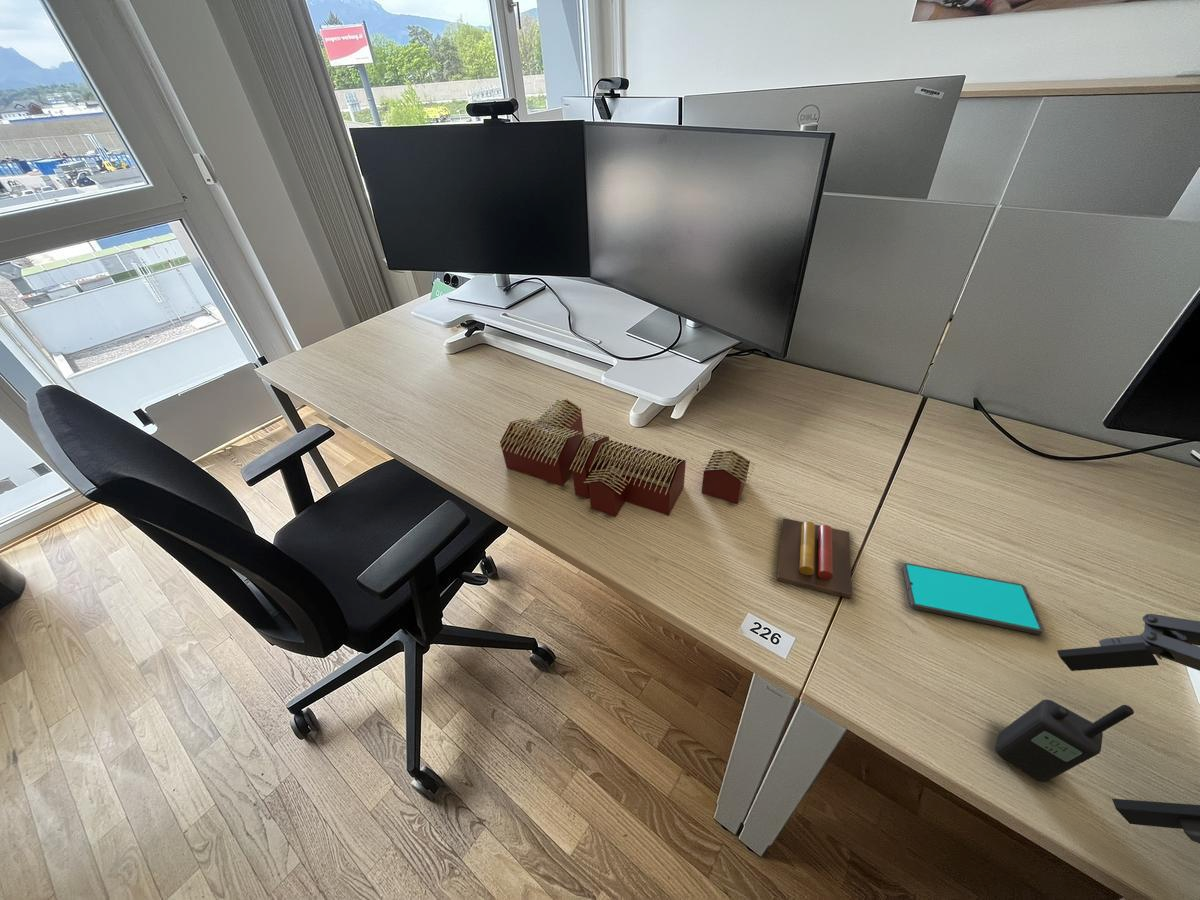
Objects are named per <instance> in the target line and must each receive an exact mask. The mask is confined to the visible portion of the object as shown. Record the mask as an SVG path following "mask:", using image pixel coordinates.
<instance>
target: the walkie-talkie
mask: <svg viewBox="0 0 1200 900" xmlns="http://www.w3.org/2000/svg"><path fill="white" fill-rule="evenodd" d="M1134 714H1135V711H1134V708H1133V707H1131V706H1130V705H1128V704H1122V705H1120V706H1118V707H1117V708H1115V709H1113V710H1112V711H1109V712H1108V713H1107V714H1104V715H1103V716H1102V717H1099V719H1097V720H1096V721H1093V722H1092V721H1090V720H1089V719H1087V718H1085V717H1083V716H1081V715H1079V714H1078V713H1076V712H1074V711H1072V710H1070V709H1069V708H1067V707H1065V706H1063V705H1061V704H1059V703H1058V702H1056V701H1054V700H1052V699H1047V698H1045V699H1042V700H1041V701H1039V702H1038V703H1037V704H1036V705H1034V706H1033V707H1031V708H1030V709H1029V710H1027V711H1026V712H1024V713H1023V714H1022V715H1021V716H1019V717H1018V718H1016V719H1015V720H1014V721H1013V722H1011V723H1010V724H1009V725H1007V726H1005V728H1003V729H1002V730H1000V732H998V737H997V741H996V744H995V751H996V753H997V754H998V755H999V756H1000V757H1001V758H1002V759H1004V760H1006V761H1007V762H1009V763H1011V764H1012V765H1013V766H1015V767H1016V768H1018V769H1020V770H1021V771H1023V772H1024V773H1026V774H1027V775H1029V776H1031V777H1033V778H1034V779H1035V780H1037V781H1039V782H1042V783H1046V782H1049V781H1051V780H1052V779H1055V778H1056V777H1058V776H1060V775H1062V774H1063V773H1065V772H1067V771H1069V770H1071V769H1073V768H1075V767H1076V766H1078V765H1081V764H1083V763H1084V762H1086V761H1088V760H1089V759H1092V758H1093V757H1094V758H1095V757H1096V756H1097V755H1099V754H1100V753H1101V751H1102V745H1103V737H1104V734H1103V732H1105V731H1106V730H1108V729H1110V728H1112V727H1113V726H1115V725H1117V724H1119V723H1120V722H1122V721H1124V720H1125V719H1127V718H1129V717H1131V716H1132V715H1134Z"/></svg>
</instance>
